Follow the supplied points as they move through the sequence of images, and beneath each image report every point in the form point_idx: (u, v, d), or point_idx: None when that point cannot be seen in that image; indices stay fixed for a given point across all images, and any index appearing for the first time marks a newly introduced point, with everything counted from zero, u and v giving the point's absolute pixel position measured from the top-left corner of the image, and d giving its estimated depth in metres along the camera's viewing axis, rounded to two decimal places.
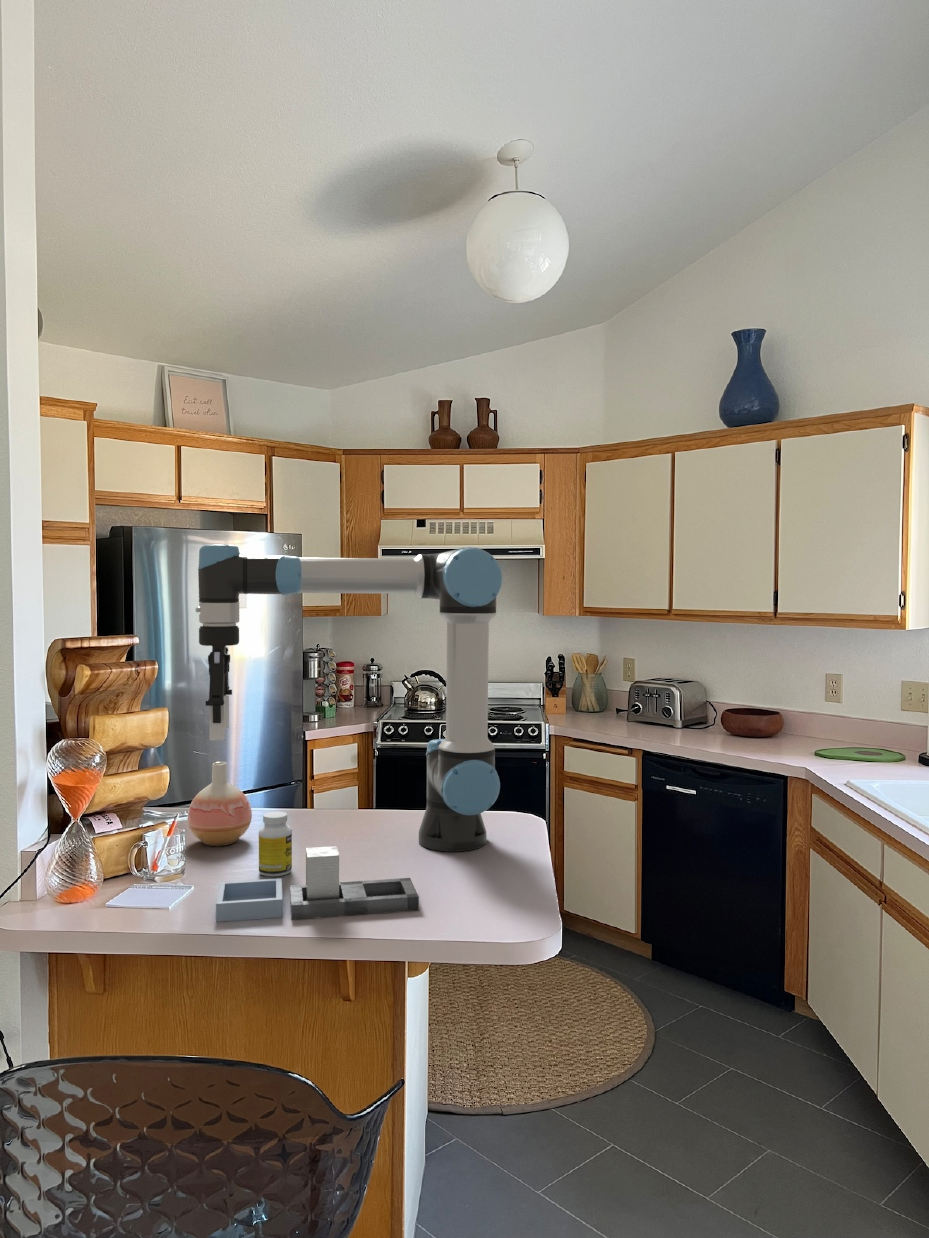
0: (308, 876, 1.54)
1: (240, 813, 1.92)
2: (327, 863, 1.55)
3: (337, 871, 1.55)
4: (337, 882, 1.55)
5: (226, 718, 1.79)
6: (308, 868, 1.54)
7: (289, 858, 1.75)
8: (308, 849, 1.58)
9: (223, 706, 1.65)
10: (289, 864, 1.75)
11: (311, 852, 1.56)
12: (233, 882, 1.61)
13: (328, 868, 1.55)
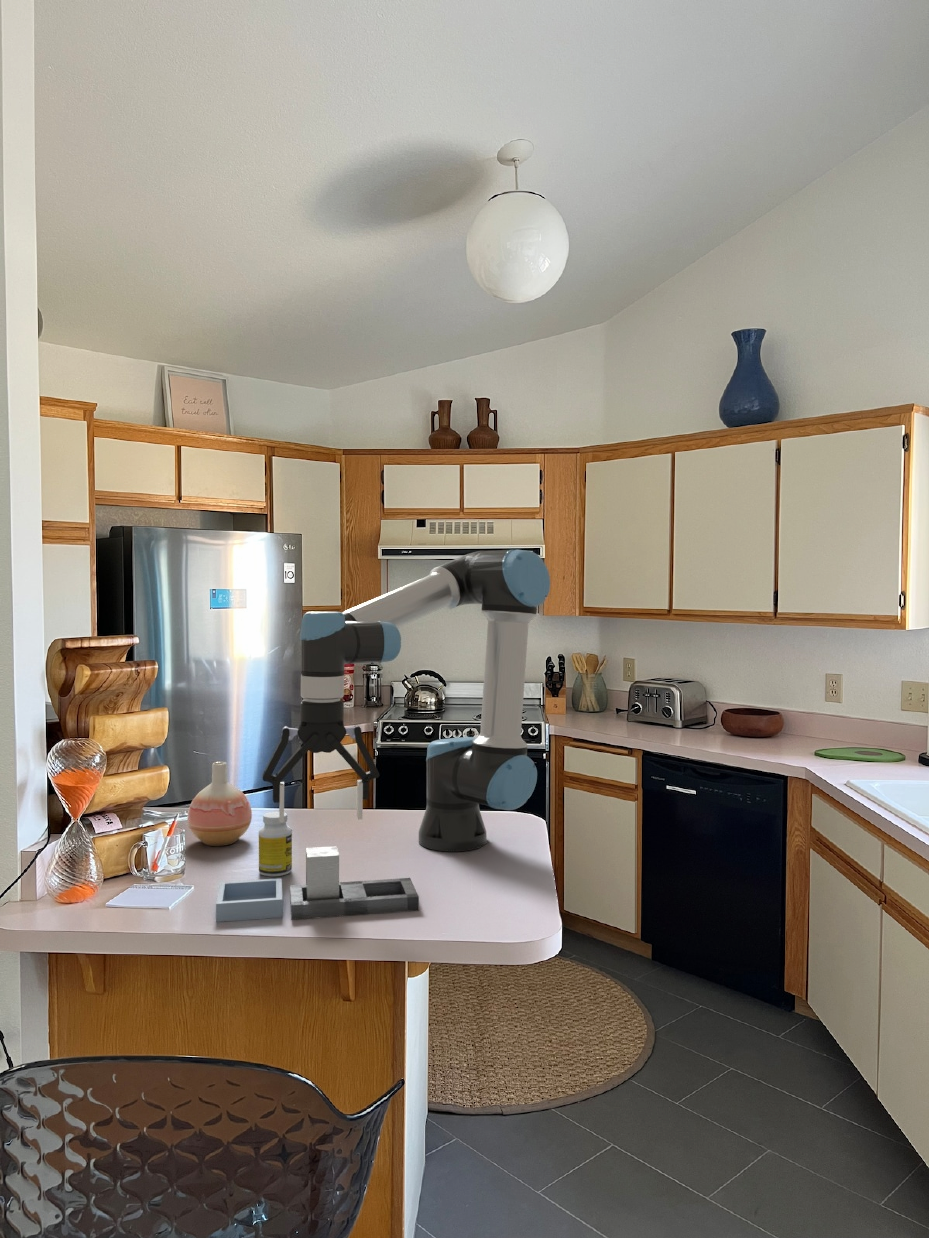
0: (308, 876, 1.54)
1: (240, 813, 1.92)
2: (327, 863, 1.55)
3: (337, 871, 1.55)
4: (337, 882, 1.55)
5: (358, 807, 1.57)
6: (308, 868, 1.54)
7: (289, 858, 1.75)
8: (308, 849, 1.58)
9: (280, 786, 1.54)
10: (289, 864, 1.75)
11: (311, 852, 1.56)
12: (233, 882, 1.61)
13: (328, 869, 1.55)
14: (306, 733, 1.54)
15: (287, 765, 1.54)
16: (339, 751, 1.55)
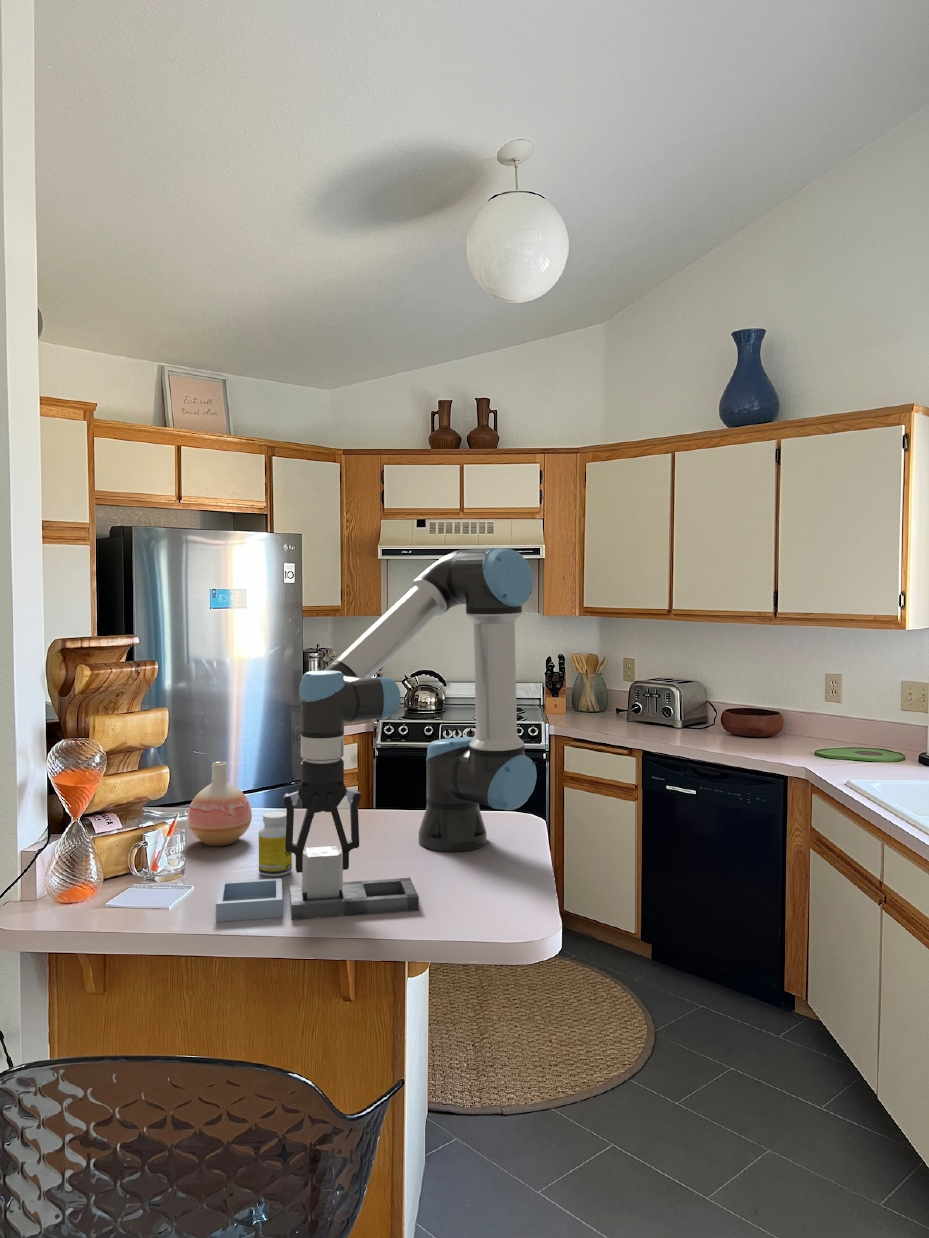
0: (308, 876, 1.54)
1: (240, 813, 1.92)
2: (327, 863, 1.54)
3: (337, 871, 1.55)
4: (337, 882, 1.55)
5: None
6: (308, 868, 1.54)
7: (289, 858, 1.75)
8: (308, 849, 1.58)
9: (303, 856, 1.55)
10: (289, 864, 1.75)
11: (311, 852, 1.56)
12: (233, 882, 1.61)
13: (328, 868, 1.55)
14: (307, 792, 1.55)
15: (302, 833, 1.55)
16: (333, 813, 1.55)
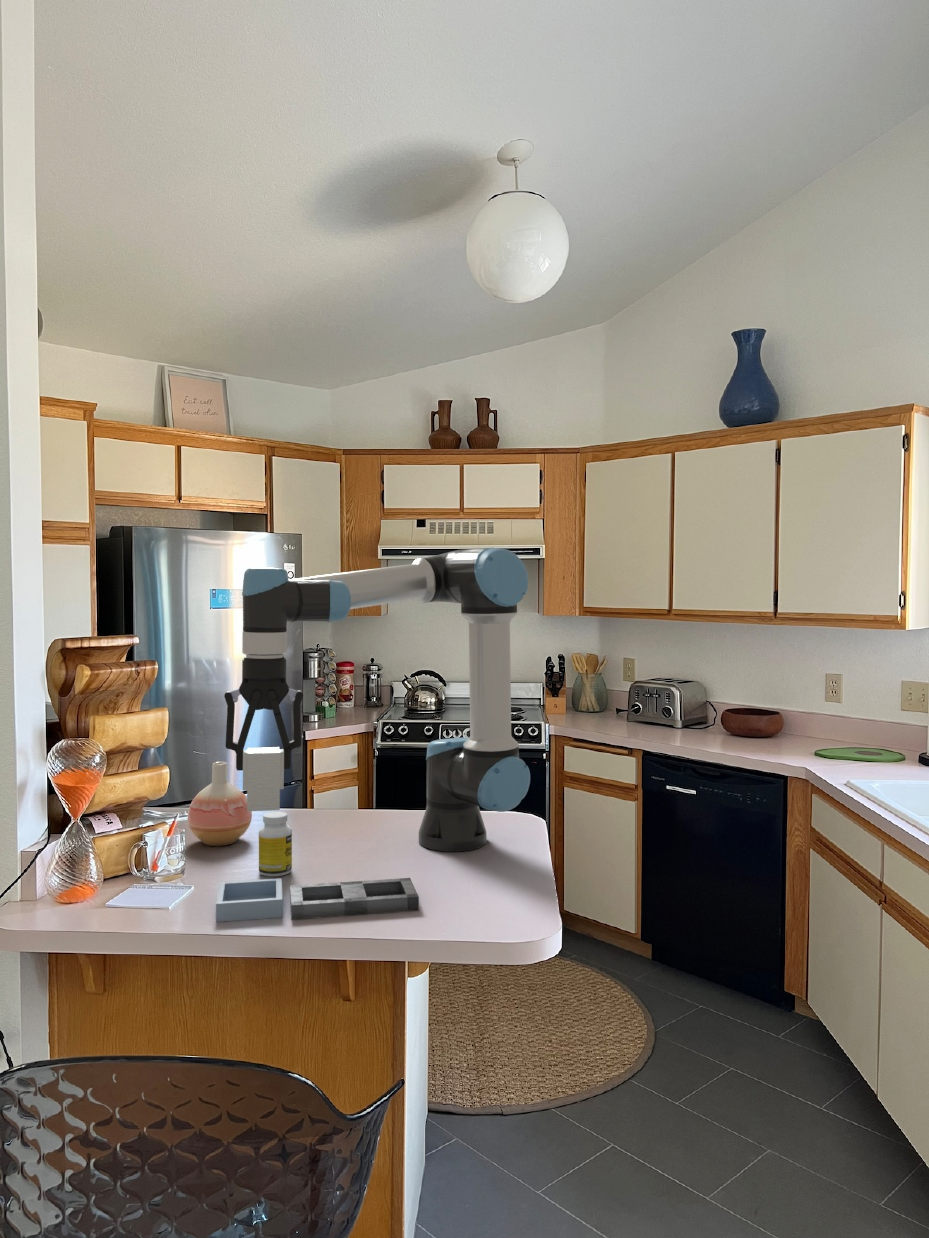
0: (248, 773, 1.52)
1: (240, 813, 1.92)
2: (268, 761, 1.53)
3: (278, 769, 1.53)
4: (278, 780, 1.53)
5: None
6: (248, 765, 1.52)
7: (289, 858, 1.75)
8: (250, 748, 1.56)
9: (243, 754, 1.53)
10: (289, 864, 1.75)
11: (252, 750, 1.55)
12: (233, 882, 1.61)
13: (269, 766, 1.53)
14: (248, 689, 1.53)
15: (243, 730, 1.53)
16: (274, 711, 1.54)
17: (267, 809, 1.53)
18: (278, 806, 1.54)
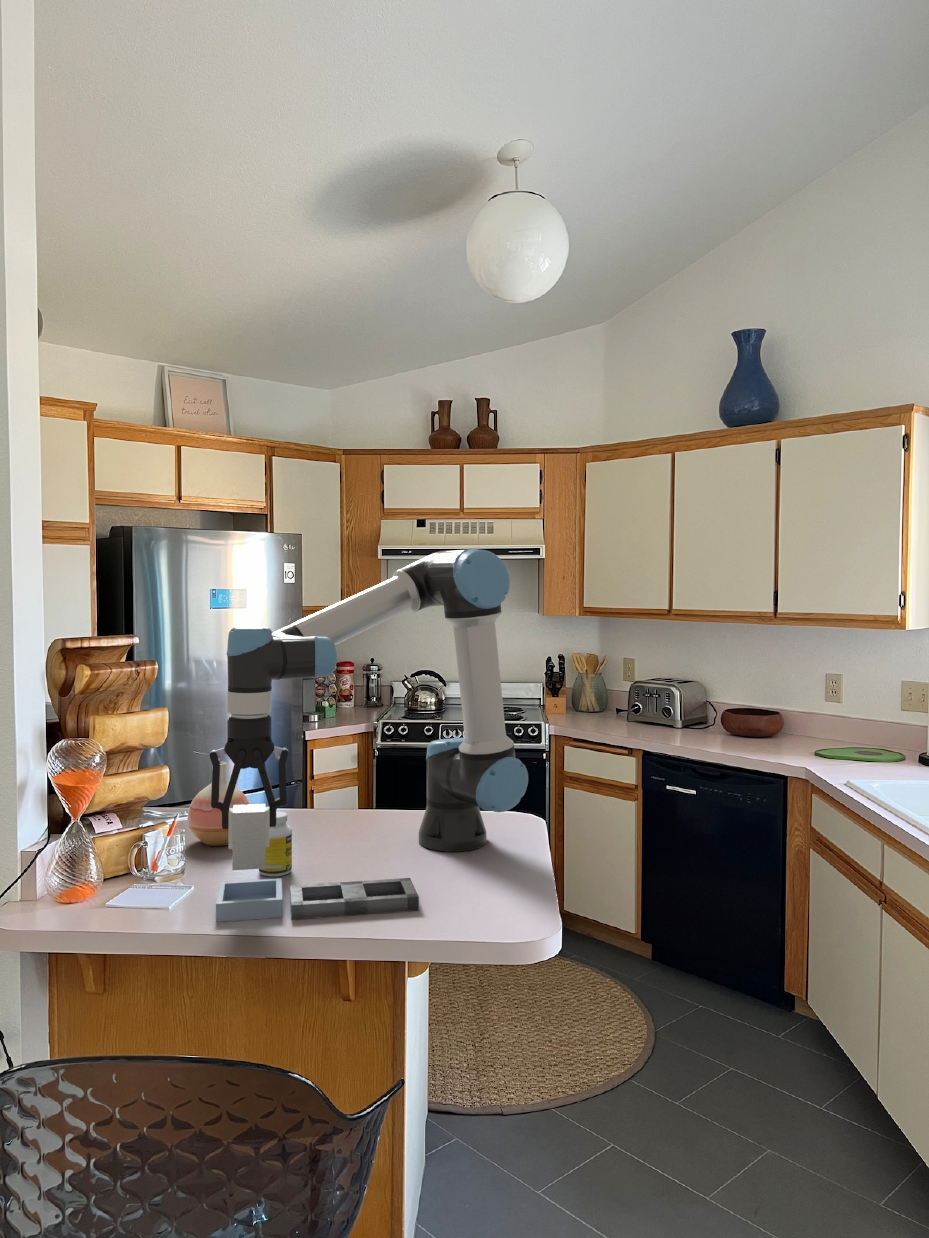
0: (233, 832, 1.53)
1: None
2: (253, 820, 1.53)
3: (263, 827, 1.54)
4: (263, 839, 1.54)
5: (265, 835, 1.56)
6: (233, 824, 1.53)
7: (289, 858, 1.75)
8: (235, 806, 1.57)
9: (229, 813, 1.54)
10: (289, 864, 1.75)
11: (237, 809, 1.55)
12: (233, 882, 1.61)
13: (254, 825, 1.53)
14: (233, 748, 1.54)
15: (228, 789, 1.54)
16: (259, 770, 1.54)
17: (252, 868, 1.54)
18: (263, 864, 1.54)
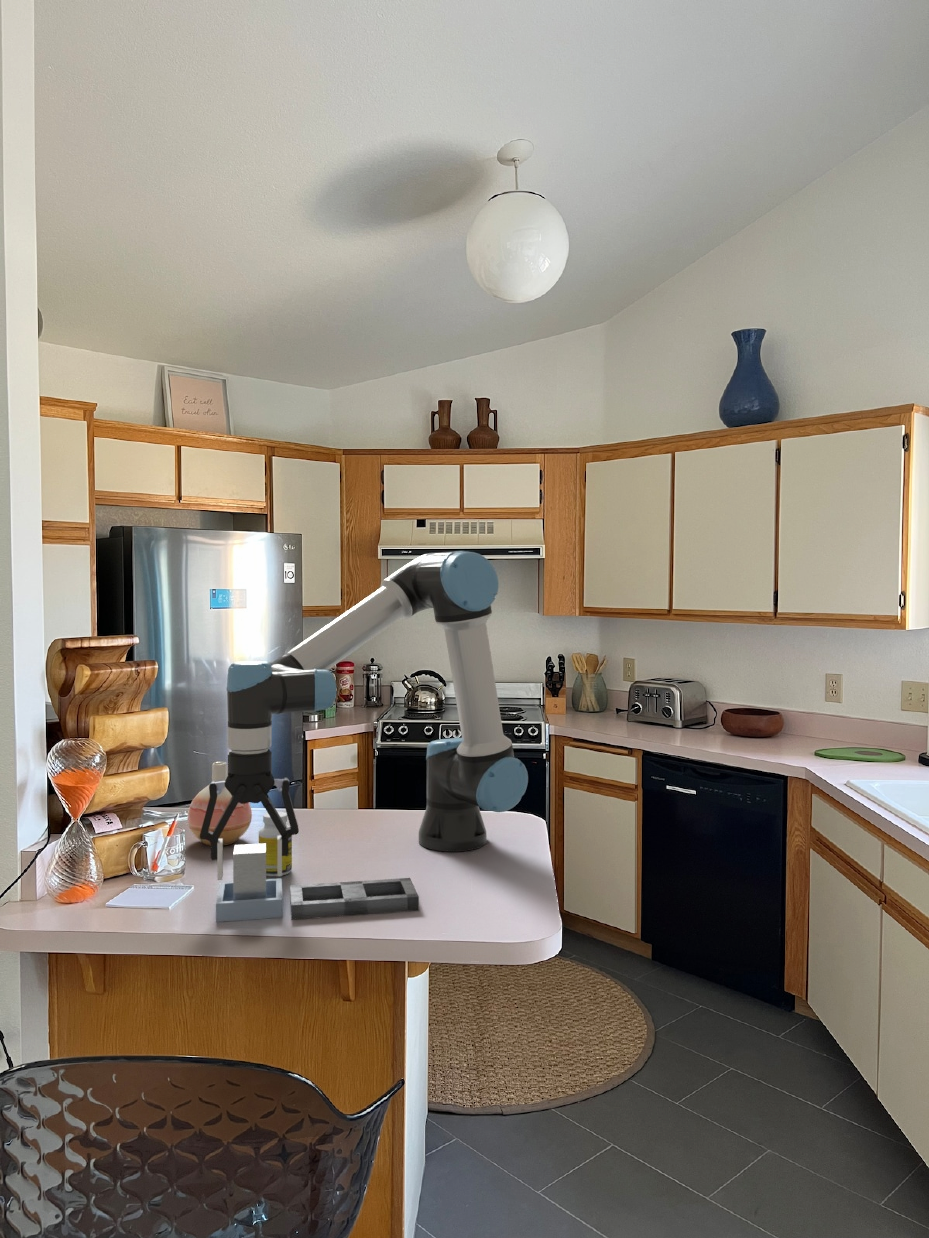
0: (234, 873, 1.53)
1: (240, 813, 1.92)
2: (254, 861, 1.54)
3: (264, 868, 1.54)
4: (264, 879, 1.54)
5: None
6: (234, 865, 1.53)
7: (289, 858, 1.75)
8: (236, 846, 1.57)
9: (217, 843, 1.54)
10: (289, 864, 1.75)
11: (238, 849, 1.55)
12: None
13: (254, 866, 1.54)
14: (233, 784, 1.54)
15: (221, 821, 1.54)
16: (263, 803, 1.55)
17: None
18: None
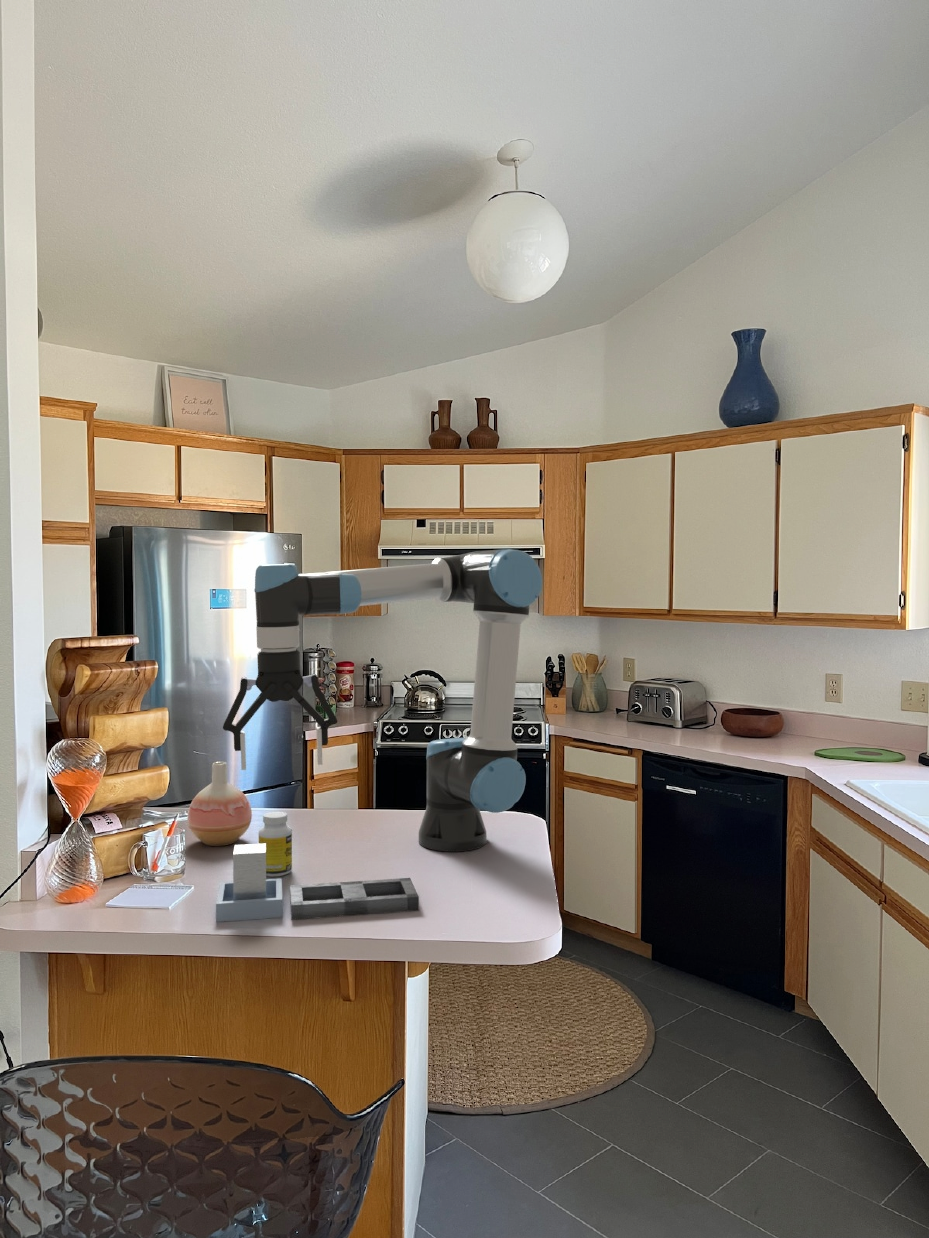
0: (234, 873, 1.53)
1: (240, 813, 1.92)
2: (254, 861, 1.54)
3: (264, 868, 1.54)
4: (264, 879, 1.54)
5: (317, 753, 1.62)
6: (234, 865, 1.53)
7: (289, 858, 1.75)
8: (236, 846, 1.57)
9: (240, 734, 1.58)
10: (289, 864, 1.75)
11: (238, 849, 1.56)
12: None
13: (254, 866, 1.54)
14: (264, 683, 1.59)
15: (246, 714, 1.58)
16: (297, 699, 1.60)
17: None
18: None
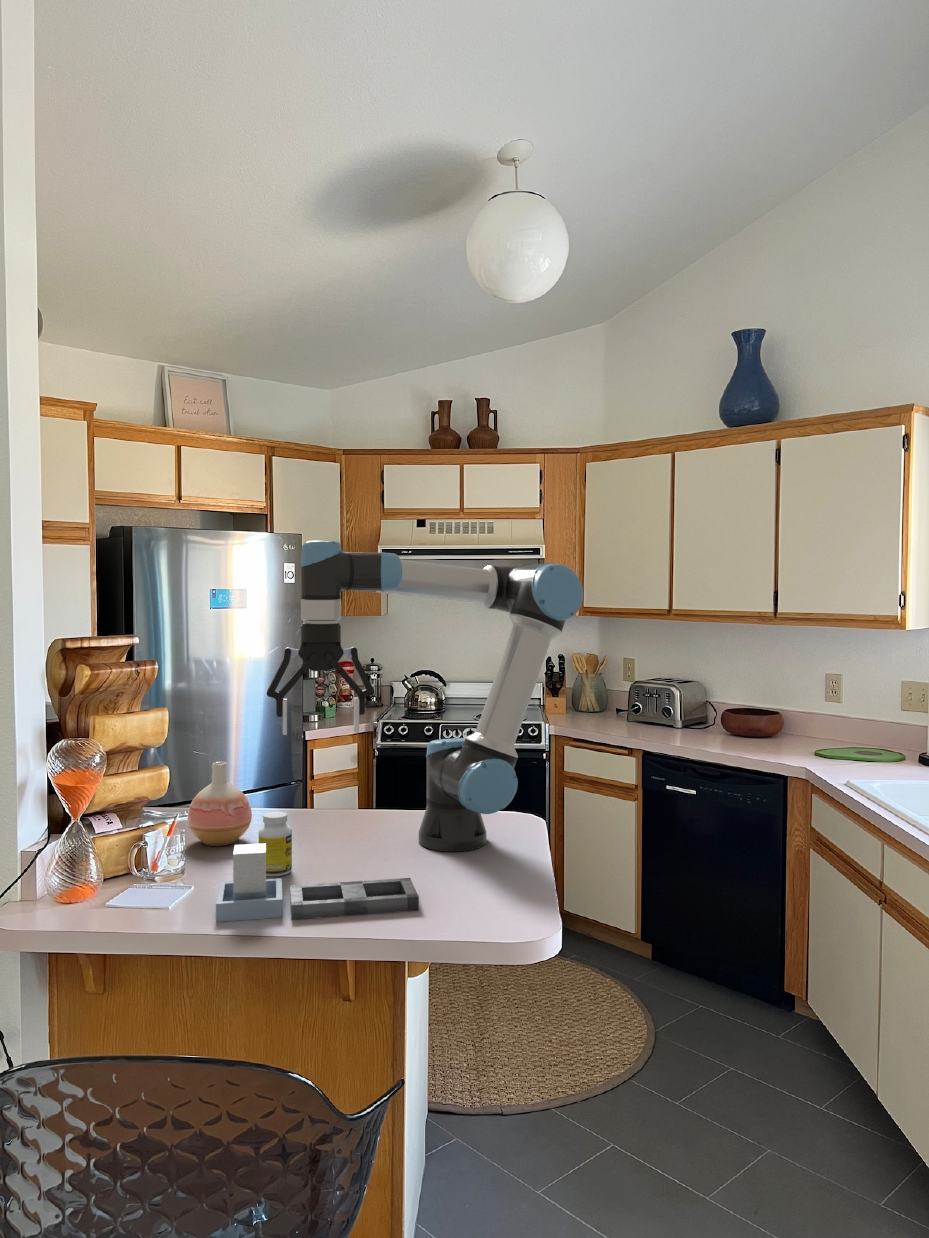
0: (234, 873, 1.53)
1: (240, 813, 1.92)
2: (254, 861, 1.54)
3: (264, 868, 1.54)
4: (264, 879, 1.54)
5: (355, 722, 1.70)
6: (234, 865, 1.53)
7: (289, 858, 1.75)
8: (236, 846, 1.57)
9: (283, 701, 1.67)
10: (289, 864, 1.75)
11: (238, 849, 1.56)
12: None
13: (254, 866, 1.54)
14: (306, 653, 1.68)
15: (289, 682, 1.67)
16: (337, 669, 1.68)
17: None
18: None
